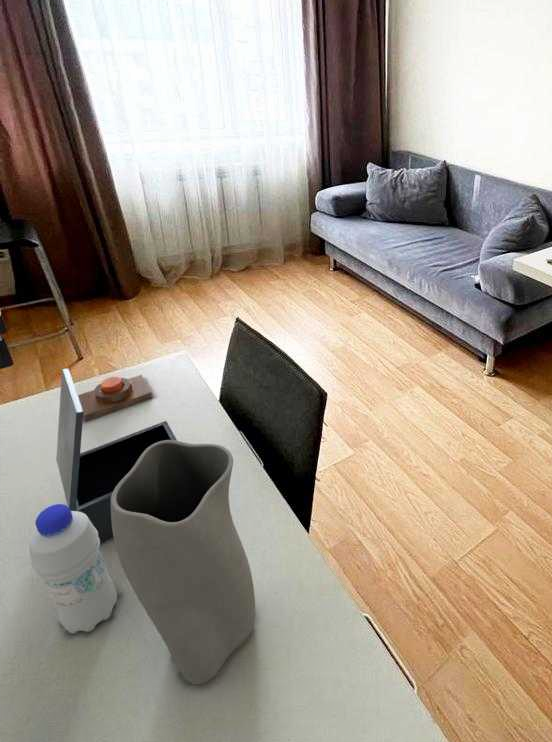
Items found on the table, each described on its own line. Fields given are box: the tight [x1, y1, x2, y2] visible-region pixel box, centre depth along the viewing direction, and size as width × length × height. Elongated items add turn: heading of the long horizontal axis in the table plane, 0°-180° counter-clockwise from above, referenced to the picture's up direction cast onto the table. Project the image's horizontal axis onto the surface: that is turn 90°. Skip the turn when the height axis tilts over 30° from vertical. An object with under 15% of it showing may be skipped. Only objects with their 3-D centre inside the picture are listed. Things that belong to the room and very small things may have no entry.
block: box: [77, 374, 153, 422], centre depth 105 cm, size 12×8×4 cm, turn 132°
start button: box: [100, 376, 123, 393], centre depth 103 cm, size 4×4×2 cm
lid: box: [55, 368, 84, 511], centre depth 73 cm, size 16×13×1 cm
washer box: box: [72, 420, 178, 544], centre depth 82 cm, size 16×13×9 cm
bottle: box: [28, 503, 118, 634], centre depth 63 cm, size 7×7×20 cm
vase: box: [111, 440, 257, 686], centre depth 59 cm, size 12×12×30 cm
